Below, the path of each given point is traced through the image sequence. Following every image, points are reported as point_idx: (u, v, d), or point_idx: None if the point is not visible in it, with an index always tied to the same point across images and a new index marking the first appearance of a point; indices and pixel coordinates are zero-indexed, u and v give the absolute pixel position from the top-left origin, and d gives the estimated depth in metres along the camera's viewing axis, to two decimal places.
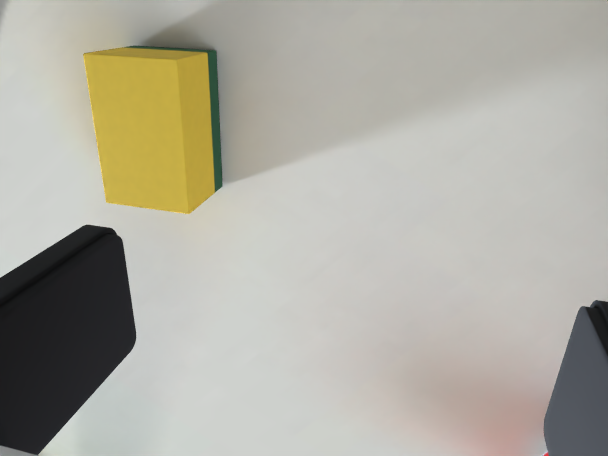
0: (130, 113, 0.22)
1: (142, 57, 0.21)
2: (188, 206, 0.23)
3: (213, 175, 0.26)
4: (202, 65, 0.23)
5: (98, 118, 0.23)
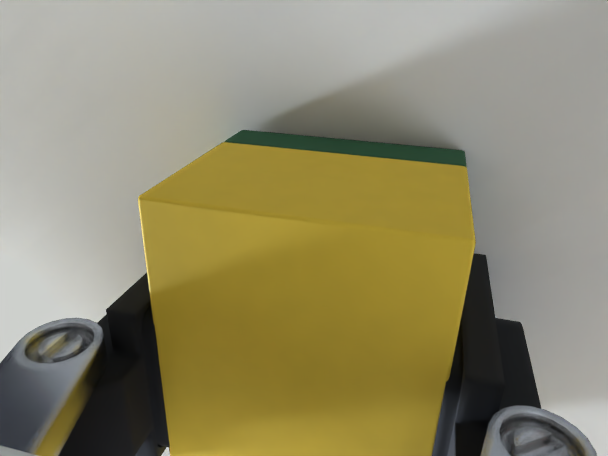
0: (275, 361, 0.07)
1: (341, 223, 0.06)
2: None
3: None
4: None
5: (174, 360, 0.08)
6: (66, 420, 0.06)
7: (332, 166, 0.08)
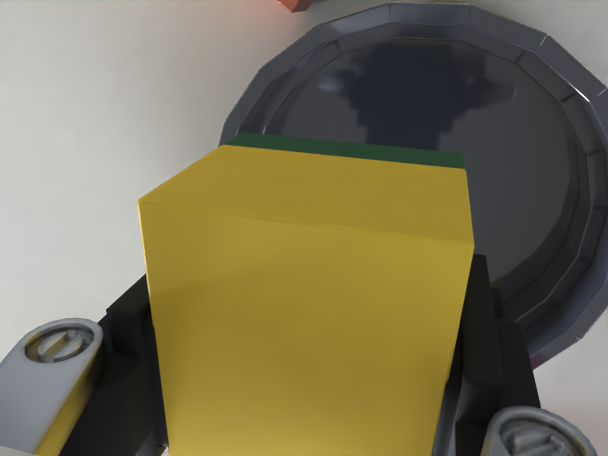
0: (274, 364, 0.07)
1: (340, 226, 0.06)
2: None
3: None
4: None
5: (174, 363, 0.08)
6: (66, 420, 0.06)
7: (331, 169, 0.08)
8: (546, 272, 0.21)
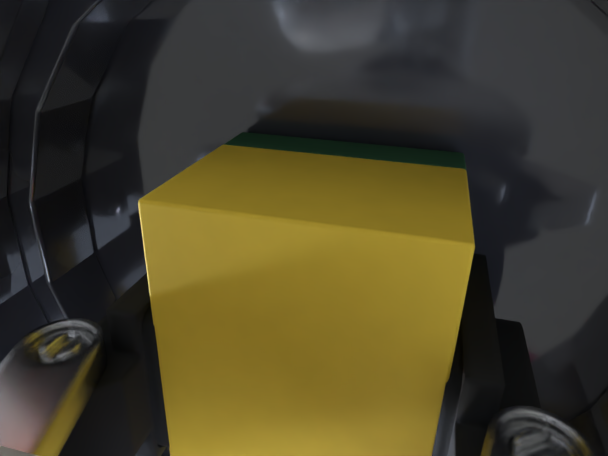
0: (275, 364, 0.07)
1: (340, 226, 0.06)
2: None
3: None
4: None
5: (174, 363, 0.08)
6: (66, 420, 0.06)
7: (332, 169, 0.08)
8: (606, 404, 0.11)
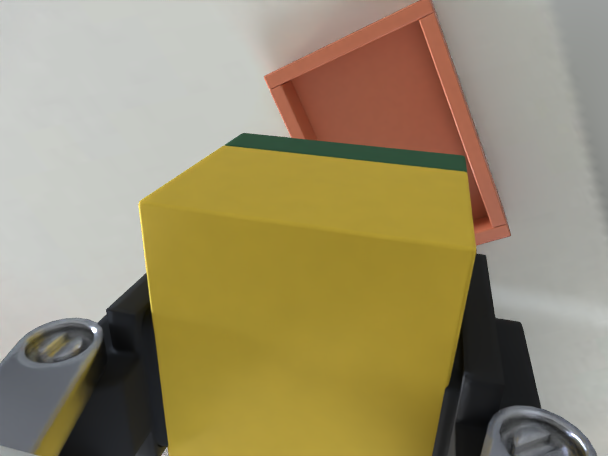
0: (274, 367, 0.07)
1: (341, 229, 0.06)
2: None
3: None
4: None
5: (174, 365, 0.08)
6: (66, 420, 0.06)
7: (333, 171, 0.08)
8: None
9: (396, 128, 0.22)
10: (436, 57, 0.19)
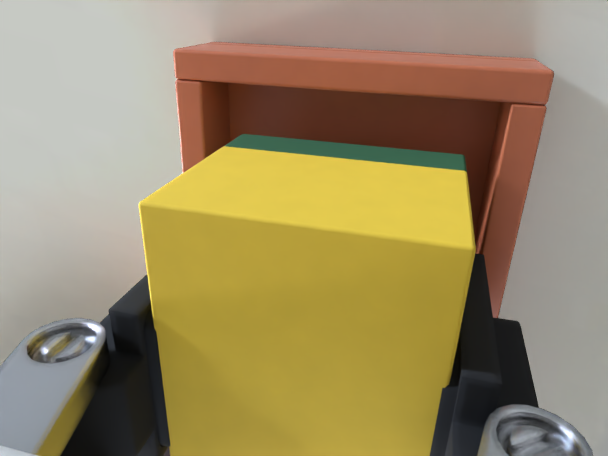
0: (275, 367, 0.07)
1: (341, 229, 0.06)
2: None
3: None
4: None
5: (176, 365, 0.08)
6: (68, 420, 0.06)
7: (332, 171, 0.08)
8: None
9: None
10: (503, 185, 0.09)
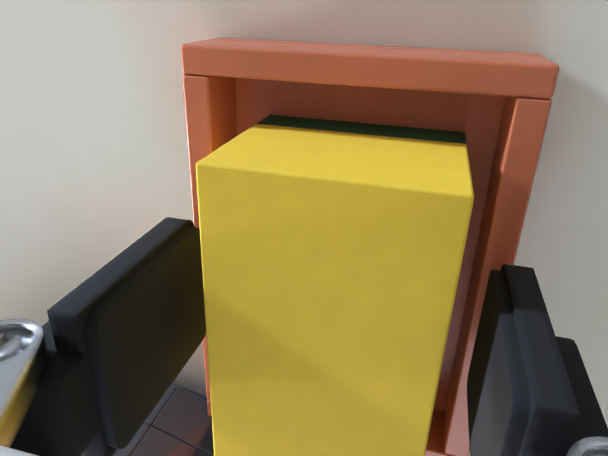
0: (306, 304, 0.09)
1: (365, 183, 0.08)
2: None
3: None
4: None
5: (219, 306, 0.09)
6: (13, 416, 0.06)
7: (352, 143, 0.10)
8: None
9: None
10: (508, 179, 0.10)
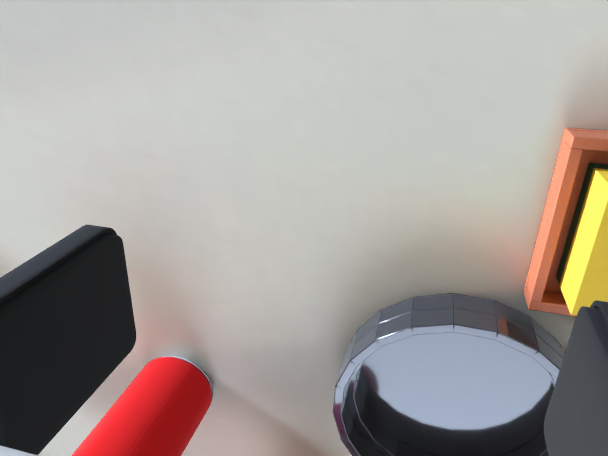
0: None
1: None
2: None
3: None
4: None
5: (601, 243, 0.24)
6: None
7: None
8: None
9: None
10: None
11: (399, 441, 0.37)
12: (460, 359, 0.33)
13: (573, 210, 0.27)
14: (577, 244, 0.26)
